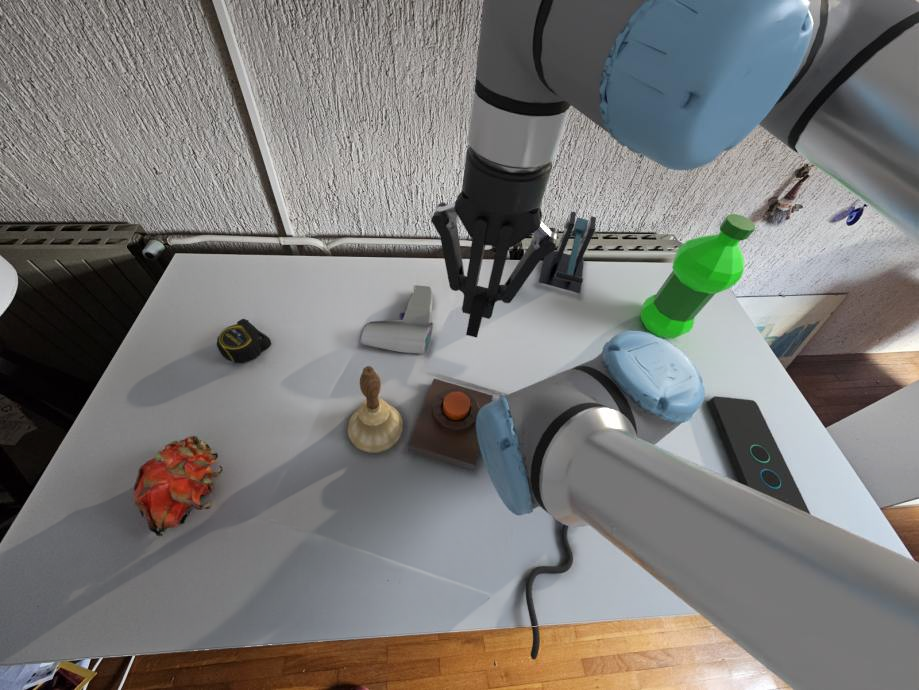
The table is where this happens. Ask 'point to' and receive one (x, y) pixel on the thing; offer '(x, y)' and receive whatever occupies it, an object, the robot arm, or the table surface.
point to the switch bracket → (566, 257)
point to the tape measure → (242, 342)
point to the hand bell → (374, 418)
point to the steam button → (456, 406)
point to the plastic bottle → (697, 278)
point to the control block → (448, 427)
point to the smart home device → (754, 450)
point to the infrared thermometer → (404, 326)
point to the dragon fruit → (175, 483)
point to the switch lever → (574, 252)
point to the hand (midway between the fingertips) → (473, 328)
